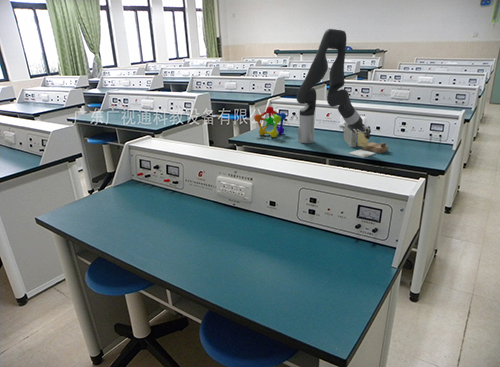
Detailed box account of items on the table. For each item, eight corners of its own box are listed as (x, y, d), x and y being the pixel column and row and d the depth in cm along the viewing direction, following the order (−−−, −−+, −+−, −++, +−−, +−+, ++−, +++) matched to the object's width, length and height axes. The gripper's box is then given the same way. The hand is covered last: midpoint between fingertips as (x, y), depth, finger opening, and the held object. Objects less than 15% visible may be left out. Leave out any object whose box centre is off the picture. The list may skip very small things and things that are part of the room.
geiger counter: (359, 123, 208) (349, 115, 231) (348, 124, 208) (339, 115, 231) (357, 147, 213) (348, 136, 236) (347, 147, 213) (338, 137, 236)
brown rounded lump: (362, 149, 209) (363, 140, 207) (370, 147, 212) (370, 138, 210) (380, 153, 199) (381, 145, 197) (388, 151, 203) (389, 142, 201)
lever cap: (357, 145, 199) (358, 131, 196) (362, 144, 201) (363, 130, 198) (363, 147, 196) (364, 132, 193) (368, 145, 198) (369, 131, 195)
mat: (348, 153, 202) (348, 152, 201) (360, 150, 207) (360, 149, 207) (363, 157, 194) (363, 156, 194) (375, 154, 199) (375, 153, 199)
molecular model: (251, 134, 250) (252, 105, 243) (264, 131, 261) (265, 103, 255) (277, 139, 238) (279, 108, 232) (289, 136, 250) (291, 107, 243)
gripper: (367, 114, 182) (380, 133, 193) (345, 110, 193) (358, 129, 204) (359, 126, 181) (373, 145, 192) (338, 122, 192) (351, 140, 203)
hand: (365, 137), depth 198 cm, fingers closed on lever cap, 4 cm apart
